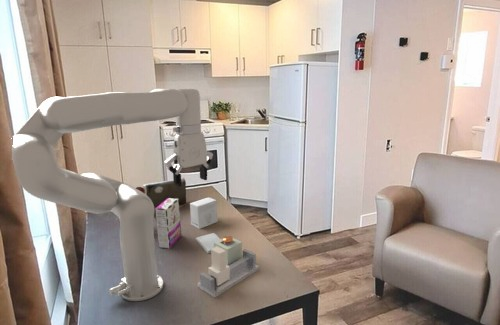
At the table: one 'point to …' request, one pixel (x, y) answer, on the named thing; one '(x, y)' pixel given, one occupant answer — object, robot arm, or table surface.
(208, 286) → the guide rail
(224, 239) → the button
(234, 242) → the hollow cube
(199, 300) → the table surface
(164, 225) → the candy bar box
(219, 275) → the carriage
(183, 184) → the radio
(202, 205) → the skincare box
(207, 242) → the hard drive
